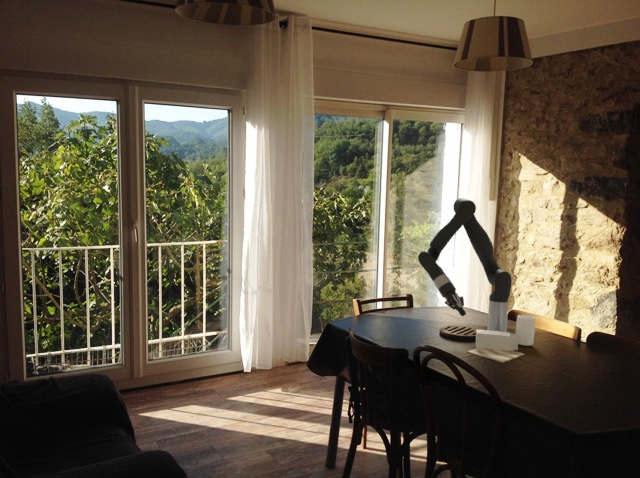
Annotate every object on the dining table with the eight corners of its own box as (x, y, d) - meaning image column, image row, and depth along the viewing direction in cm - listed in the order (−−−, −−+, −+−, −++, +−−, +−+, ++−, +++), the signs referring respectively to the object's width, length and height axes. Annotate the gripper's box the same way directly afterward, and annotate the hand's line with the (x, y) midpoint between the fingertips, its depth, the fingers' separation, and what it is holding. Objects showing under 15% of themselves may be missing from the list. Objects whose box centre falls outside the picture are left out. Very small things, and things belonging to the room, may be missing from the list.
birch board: (489, 345, 269) (489, 344, 269) (524, 355, 255) (524, 353, 255) (467, 352, 257) (467, 351, 257) (502, 362, 244) (502, 361, 244)
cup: (534, 344, 272) (536, 316, 271) (532, 349, 265) (534, 319, 263) (515, 342, 276) (517, 313, 274) (513, 346, 268) (515, 317, 267)
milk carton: (475, 347, 262) (518, 352, 258) (476, 333, 261) (519, 337, 257) (475, 343, 269) (517, 347, 264) (476, 329, 268) (518, 332, 264)
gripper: (441, 282, 268) (461, 312, 260) (457, 279, 277) (477, 309, 269) (431, 291, 272) (450, 321, 265) (447, 288, 281) (467, 317, 273)
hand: (464, 315), depth 267 cm, fingers closed
